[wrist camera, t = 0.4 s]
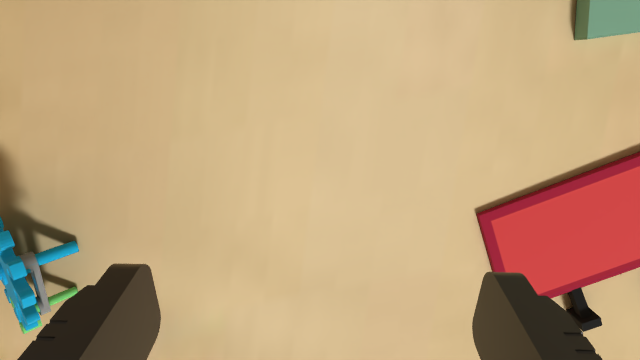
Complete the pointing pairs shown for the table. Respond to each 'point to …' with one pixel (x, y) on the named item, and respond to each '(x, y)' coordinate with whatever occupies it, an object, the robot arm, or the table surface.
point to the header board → (606, 18)
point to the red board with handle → (570, 233)
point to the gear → (19, 293)
